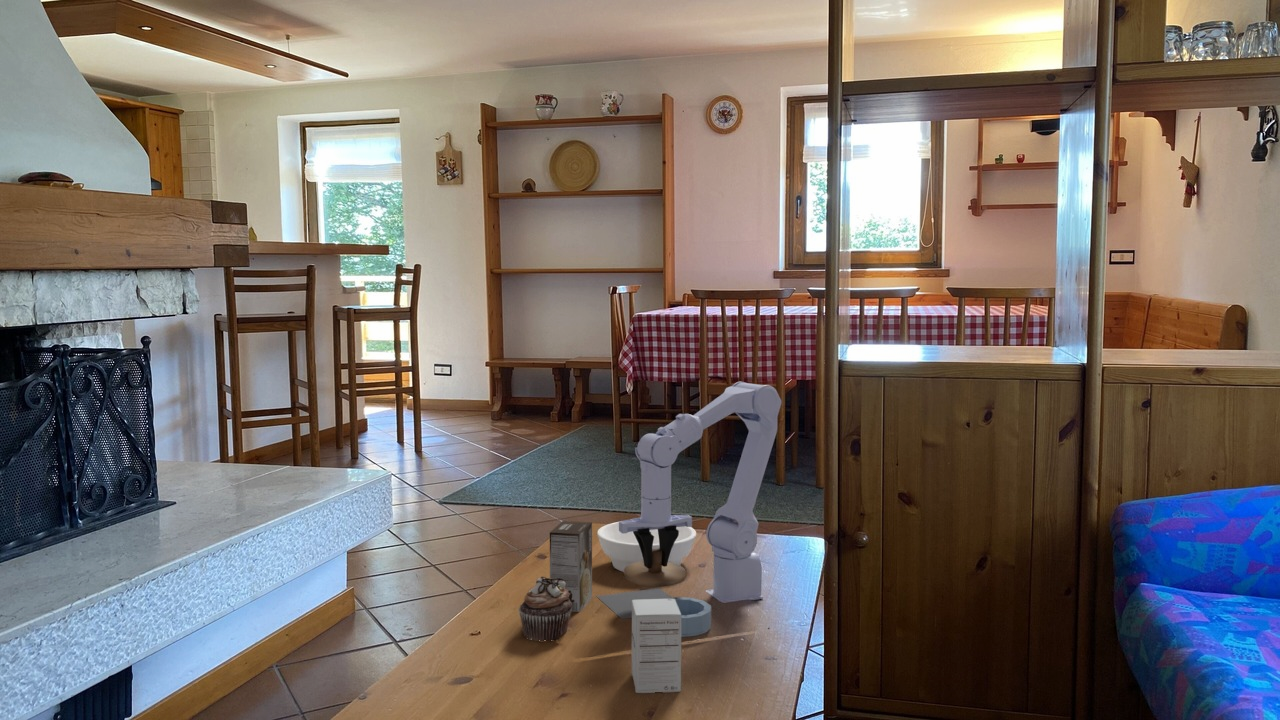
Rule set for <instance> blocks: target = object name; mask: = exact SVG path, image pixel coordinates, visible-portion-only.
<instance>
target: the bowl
mask: <svg viewBox="0 0 1280 720" xmlns="http://www.w3.org/2000/svg"><path fill="white" fill-rule="evenodd" d="M676 529H677V530H679V535H678V537H677V539H676V541H675V543H674V545H673V547H672V549H671V552H670V555H669V559H668V562H670V563H674V564H677V565H680V566H682V562H683V558H685V557H687V556H688V555H690V553H691V551H692V548H693V545H694V542H695V540H696V536H697V531H696V530H695V529H694V528H693V526H692V527H686V526H683V527H676ZM596 531H597V533H596V534H597V538H598V540H599V544H600V546H601V549H602V552H603V553H604V554H605V555H606V556H607V557H609V558H610V560H611V561H610V562H612V566H613V568H614V569H616V570H618V571H620V572H622V573H624V569H625V567H626V566H628V565H630V564H632V563H636V562H641V561H644V560H643V556H642V552H641V549H640V546H639V544H638V541H637V539H636V537H635V535H634V533H633V532H627V533H621V532H620V531H619V521H617V522H612V523H608V524H605V525H603V526H602V527H600V528H598V530H596ZM649 532H651V534H652V535H653V536H654V540H653V546H652V549H660V545H659V535H658V529H653V530H649Z"/></svg>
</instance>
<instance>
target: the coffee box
mask: <svg viewBox="0 0 1280 720" xmlns="http://www.w3.org/2000/svg"><path fill="white" fill-rule="evenodd" d="M549 578H562V579H564V582H565V583H566V585H565V589H566V590H567V591H568V592H569V597H568V598H569V599H570V601H571V602H572V610H571V613H572V612H576V613H580V612H582V611H583V609H584V608H585V607H586V605H588V603H590V601H591V600H592V598H593V522H592V521H572V520H571V521H567V520H564V521H563V520H562V521H561V522H560V523H559V524H558V525H556V527H554V528H553V529H552V530H550V531H549Z"/></svg>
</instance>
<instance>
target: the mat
mask: <svg viewBox="0 0 1280 720" xmlns="http://www.w3.org/2000/svg"><path fill="white" fill-rule="evenodd" d="M595 597H596V598H597V599H598V600H600V602H602V603H603V604H604V605H605V606H606V607H607V608H609V609H610V610H611V611H612V612H613V613H614V614H615V615H616V616H618V618H620V619H621V620H627V619H632V600H638V599H665V598H672V597H673V596H671V595H670V594H668V593H667V592H666V591H664V590H663V589H662V588H660V587H654V588H648V589H642V590H633V591H632V590H631V591H626V592H625V591H624V592H617V593H612V594H611V593H609V594H603V595H596V596H595Z"/></svg>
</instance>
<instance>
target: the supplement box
mask: <svg viewBox="0 0 1280 720" xmlns="http://www.w3.org/2000/svg"><path fill="white" fill-rule="evenodd" d="M631 676H632V679H633V685H634V691H635V693H636V694H652V693H653V694H654V693H655V692H663V693H679V692H682V637H681V612H680V610H679V608H678V605H677V603H676V600H675V599H638V600H632V618H631ZM655 694H656V693H655Z"/></svg>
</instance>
